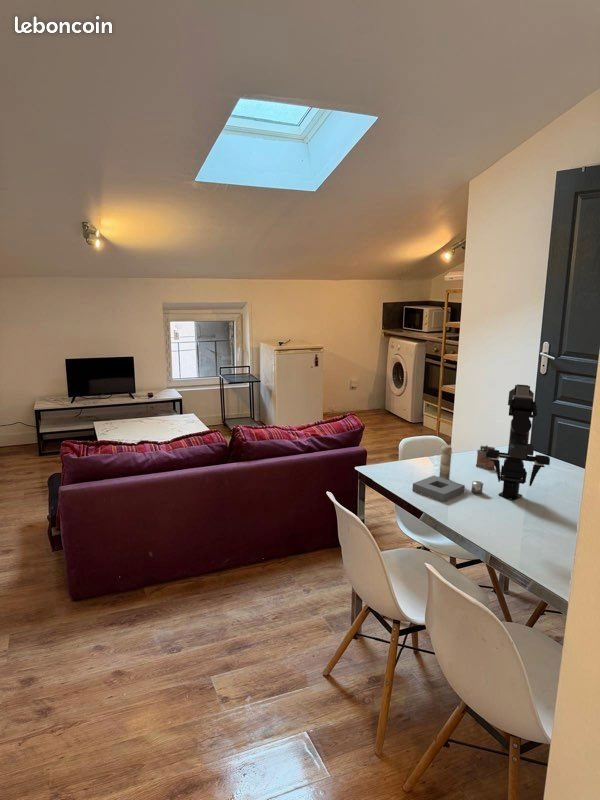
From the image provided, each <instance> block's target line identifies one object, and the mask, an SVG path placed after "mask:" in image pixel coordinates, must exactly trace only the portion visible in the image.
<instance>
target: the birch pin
mask: <svg viewBox="0 0 600 800" xmlns="http://www.w3.org/2000/svg"><path fill="white" fill-rule="evenodd" d="M452 449H453V447H452V446H450V445H442V446H441V449H440V450H441V451H440V452H441V453H440V464H439V476H438V477H441V478H444V479H447V480H450V475H451V462H452V452H453V451H452Z"/></svg>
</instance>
